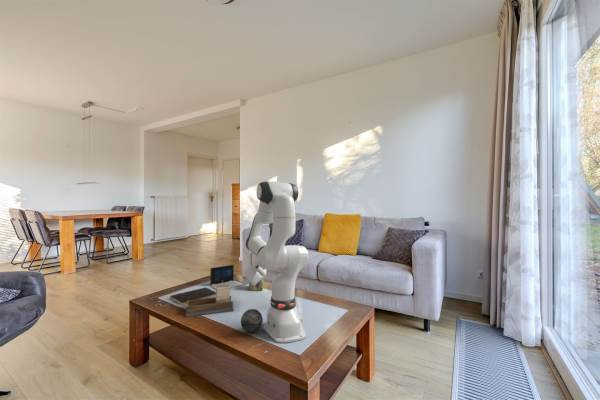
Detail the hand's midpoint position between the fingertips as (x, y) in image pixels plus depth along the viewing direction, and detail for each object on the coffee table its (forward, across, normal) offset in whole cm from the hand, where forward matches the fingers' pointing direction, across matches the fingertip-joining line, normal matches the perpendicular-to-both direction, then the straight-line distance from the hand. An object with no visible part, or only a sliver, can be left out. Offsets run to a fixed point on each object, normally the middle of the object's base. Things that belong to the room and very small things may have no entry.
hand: (242, 285), depth 158 cm
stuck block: (+15, +1, -1) cm, 15 cm away
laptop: (+12, -38, +5) cm, 40 cm away
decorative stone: (+8, +35, +7) cm, 36 cm away
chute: (+21, +1, -5) cm, 21 cm away
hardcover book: (+27, -21, -10) cm, 36 cm away
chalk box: (-1, -25, +18) cm, 31 cm away
